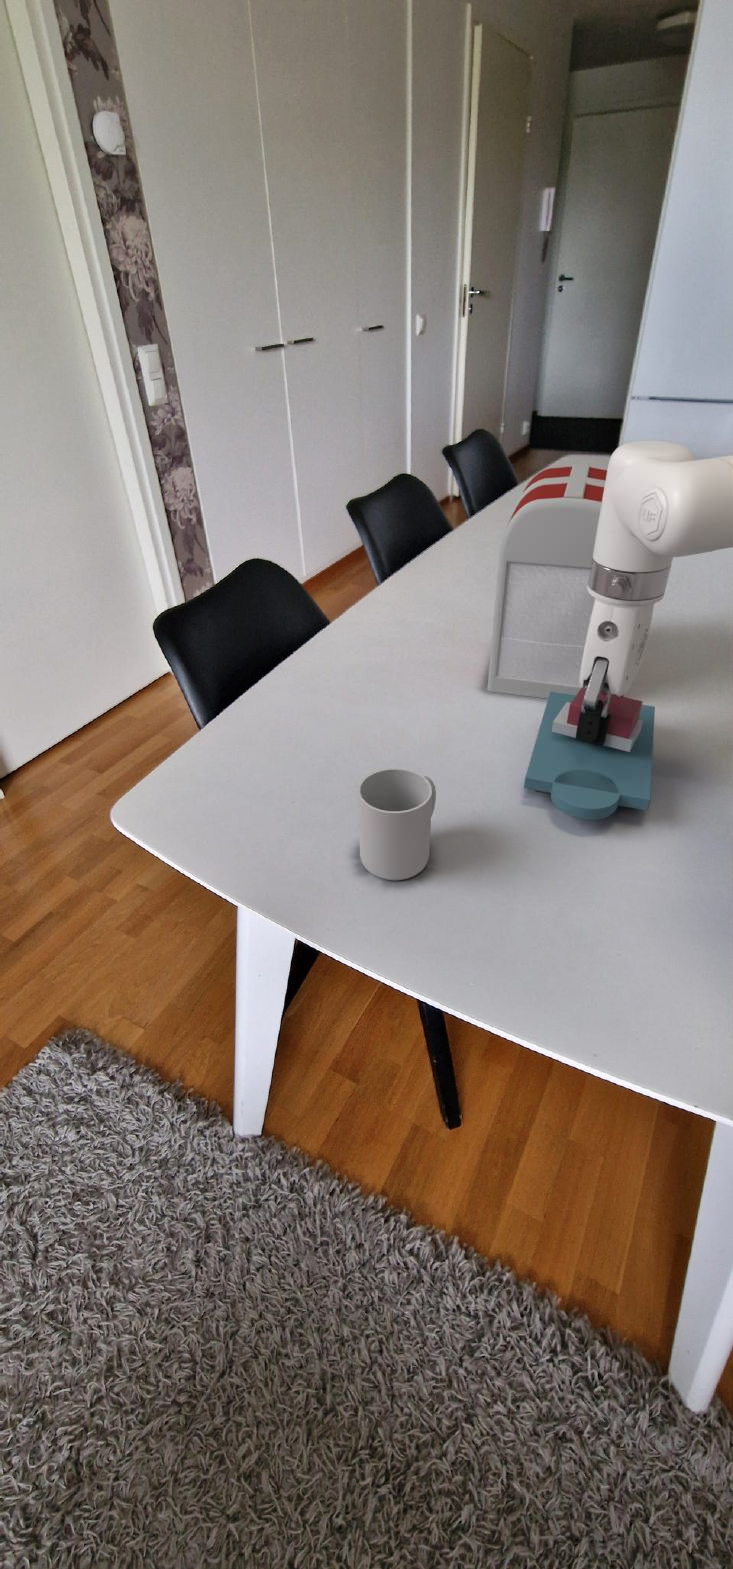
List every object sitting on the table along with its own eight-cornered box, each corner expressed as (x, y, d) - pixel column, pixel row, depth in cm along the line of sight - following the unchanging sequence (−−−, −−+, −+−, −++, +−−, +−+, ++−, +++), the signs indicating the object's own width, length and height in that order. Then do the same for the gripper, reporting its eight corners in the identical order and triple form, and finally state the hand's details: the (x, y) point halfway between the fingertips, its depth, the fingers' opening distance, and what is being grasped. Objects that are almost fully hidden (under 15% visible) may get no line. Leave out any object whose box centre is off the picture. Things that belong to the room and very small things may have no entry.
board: (546, 717, 94) (550, 691, 92) (648, 733, 91) (655, 706, 88) (515, 824, 77) (519, 796, 74) (640, 849, 73) (649, 820, 71)
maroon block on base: (640, 731, 82) (647, 701, 79) (629, 752, 78) (637, 721, 76) (564, 712, 86) (569, 683, 83) (551, 731, 82) (556, 702, 80)
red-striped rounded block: (484, 691, 100) (502, 493, 84) (502, 639, 114) (520, 460, 98) (605, 706, 96) (647, 501, 80) (608, 650, 110) (645, 465, 94)
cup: (345, 861, 73) (341, 793, 67) (405, 813, 79) (406, 747, 73) (400, 893, 69) (400, 823, 64) (458, 840, 75) (463, 773, 70)
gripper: (646, 615, 64) (609, 777, 74) (683, 557, 75) (647, 705, 86) (564, 600, 67) (541, 758, 78) (612, 547, 78) (586, 690, 89)
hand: (597, 728), depth 82 cm, fingers closed on maroon block on base, 5 cm apart
